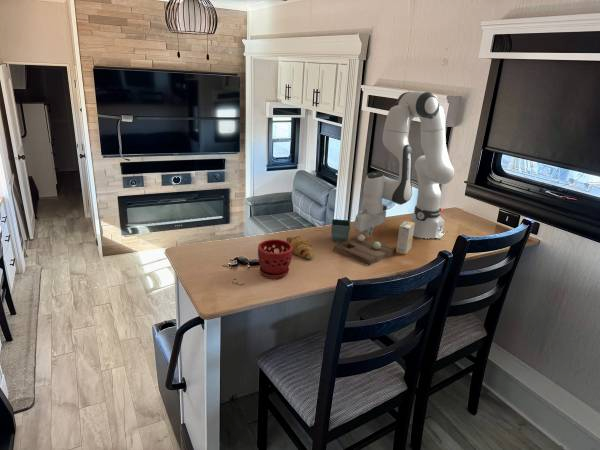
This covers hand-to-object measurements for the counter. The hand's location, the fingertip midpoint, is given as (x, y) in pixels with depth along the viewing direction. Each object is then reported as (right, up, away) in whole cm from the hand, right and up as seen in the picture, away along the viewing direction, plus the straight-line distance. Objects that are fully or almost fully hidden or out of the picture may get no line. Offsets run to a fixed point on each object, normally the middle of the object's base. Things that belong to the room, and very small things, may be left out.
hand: (368, 236), depth 194 cm
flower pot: (-13, -2, +3) cm, 14 cm away
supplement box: (+15, -7, -5) cm, 17 cm away
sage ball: (+2, -4, -12) cm, 12 cm away
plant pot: (-42, -14, -32) cm, 55 cm away
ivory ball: (-4, -1, -4) cm, 5 cm away
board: (-4, -7, -9) cm, 12 cm away
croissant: (-32, -7, -11) cm, 35 cm away
